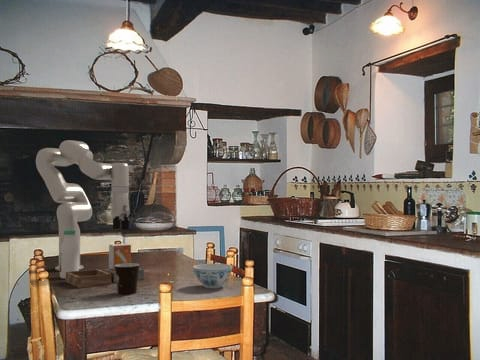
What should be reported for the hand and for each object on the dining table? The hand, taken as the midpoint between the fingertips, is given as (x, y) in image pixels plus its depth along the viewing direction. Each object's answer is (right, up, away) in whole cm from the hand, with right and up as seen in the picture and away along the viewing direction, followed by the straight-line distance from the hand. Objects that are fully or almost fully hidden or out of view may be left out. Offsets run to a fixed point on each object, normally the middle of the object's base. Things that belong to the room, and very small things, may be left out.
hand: (120, 229), depth 221 cm
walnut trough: (-8, -19, -23) cm, 31 cm away
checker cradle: (+5, -20, -14) cm, 24 cm away
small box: (0, -20, 0) cm, 20 cm away
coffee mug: (+13, -19, -44) cm, 50 cm away
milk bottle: (-20, -20, -9) cm, 30 cm away
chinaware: (+43, -19, -31) cm, 56 cm away
